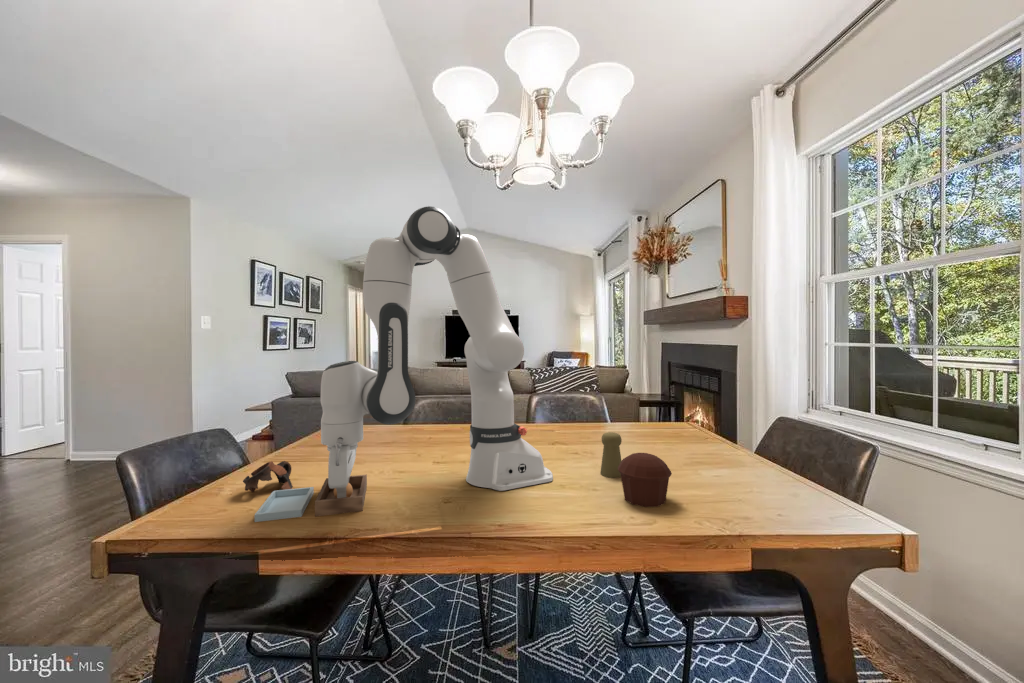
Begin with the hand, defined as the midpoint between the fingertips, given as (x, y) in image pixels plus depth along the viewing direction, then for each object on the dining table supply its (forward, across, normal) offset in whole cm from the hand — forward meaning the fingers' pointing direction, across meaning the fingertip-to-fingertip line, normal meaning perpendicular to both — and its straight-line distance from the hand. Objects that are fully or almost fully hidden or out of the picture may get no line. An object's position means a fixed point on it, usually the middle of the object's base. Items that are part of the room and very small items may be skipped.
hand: (343, 494), depth 95 cm
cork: (+2, -1, -67) cm, 67 cm away
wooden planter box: (+2, 0, 0) cm, 2 cm away
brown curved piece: (+2, +14, +18) cm, 22 cm away
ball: (+1, 0, 0) cm, 1 cm away
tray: (+2, 0, +12) cm, 12 cm away
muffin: (+2, -19, -65) cm, 68 cm away
